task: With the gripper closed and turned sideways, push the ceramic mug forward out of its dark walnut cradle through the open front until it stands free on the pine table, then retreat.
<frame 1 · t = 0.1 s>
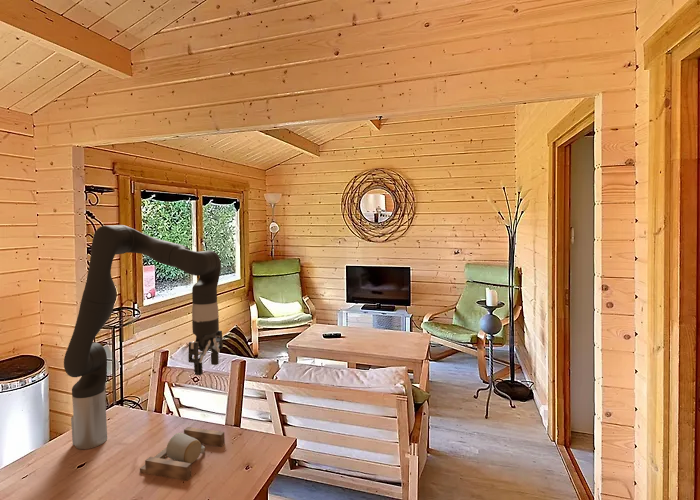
hand: (206, 369, 125), 29 cm above the table, fingers open, 8 cm apart
ceramic mug: (187, 458, 130), on the table
cradle: (187, 457, 129), on the table
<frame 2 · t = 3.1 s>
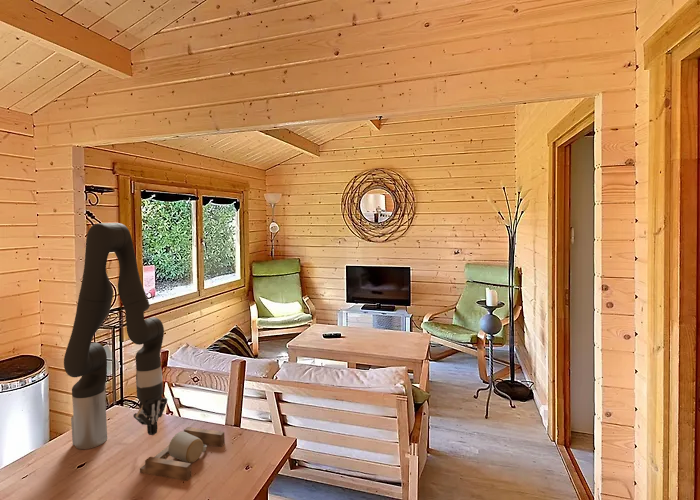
hand: (152, 433, 132), 6 cm above the table, fingers closed
nothing on the table moved.
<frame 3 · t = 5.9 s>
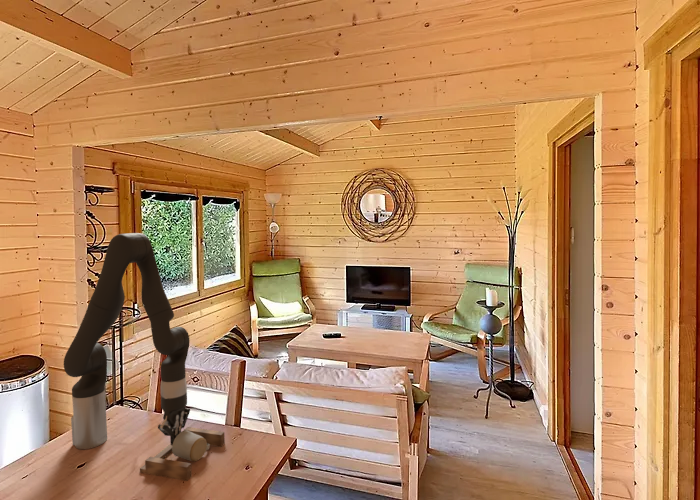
hand: (175, 444, 130), 4 cm above the table, fingers closed
ceramic mug: (193, 455, 131), on the table, touching gripper
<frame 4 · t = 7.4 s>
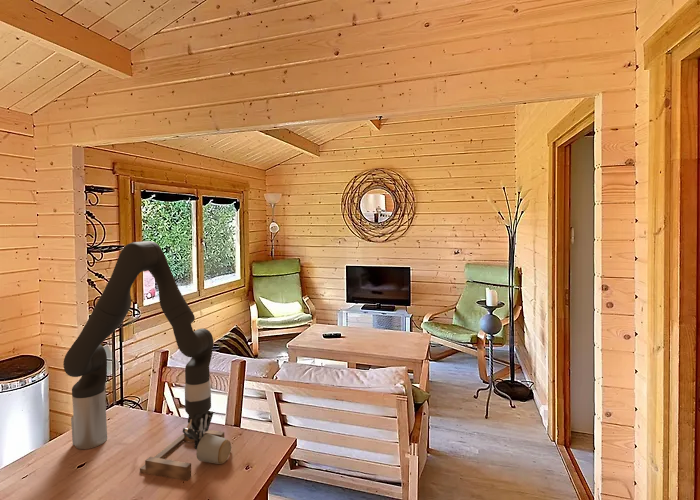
hand: (199, 448, 128), 4 cm above the table, fingers closed
ceramic mug: (216, 458, 129), on the table, touching gripper
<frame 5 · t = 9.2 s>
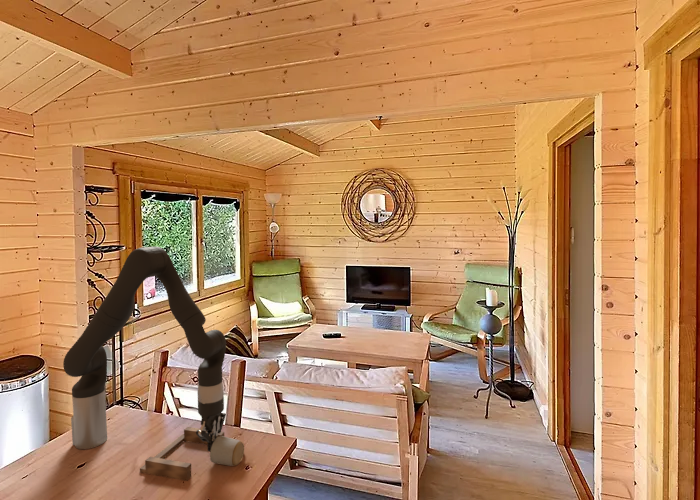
hand: (212, 450, 127), 3 cm above the table, fingers closed
ceramic mug: (229, 460, 128), on the table, touching gripper
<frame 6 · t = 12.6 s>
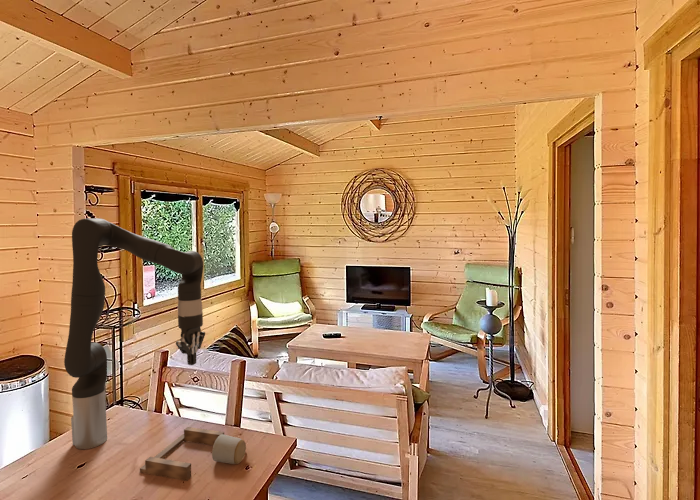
hand: (192, 364, 136), 27 cm above the table, fingers closed
ceramic mug: (231, 459, 129), on the table
at the end: ceramic mug inside the target area (3.9 cm from its centre), on the table; ceramic mug tilted 0° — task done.
